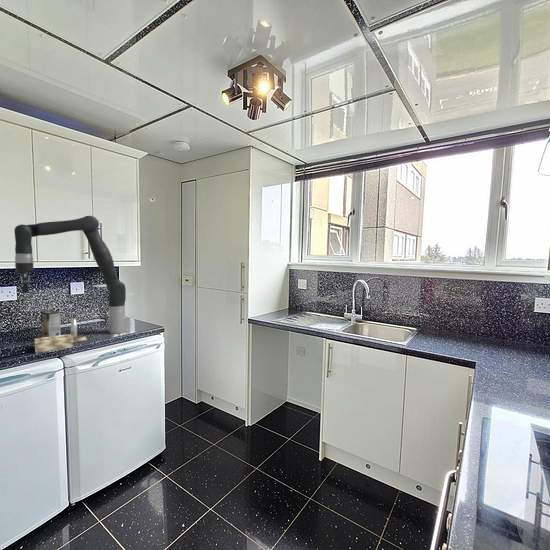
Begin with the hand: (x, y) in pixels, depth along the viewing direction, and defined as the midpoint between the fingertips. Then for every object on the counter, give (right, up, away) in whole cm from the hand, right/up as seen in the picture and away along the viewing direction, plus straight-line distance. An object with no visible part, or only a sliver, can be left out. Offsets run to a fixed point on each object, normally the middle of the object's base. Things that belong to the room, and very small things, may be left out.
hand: (25, 291), depth 163 cm
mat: (+21, -29, +12) cm, 37 cm away
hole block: (+17, -30, -2) cm, 34 cm away
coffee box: (+4, -29, +14) cm, 32 cm away
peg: (+19, -28, +11) cm, 36 cm away
